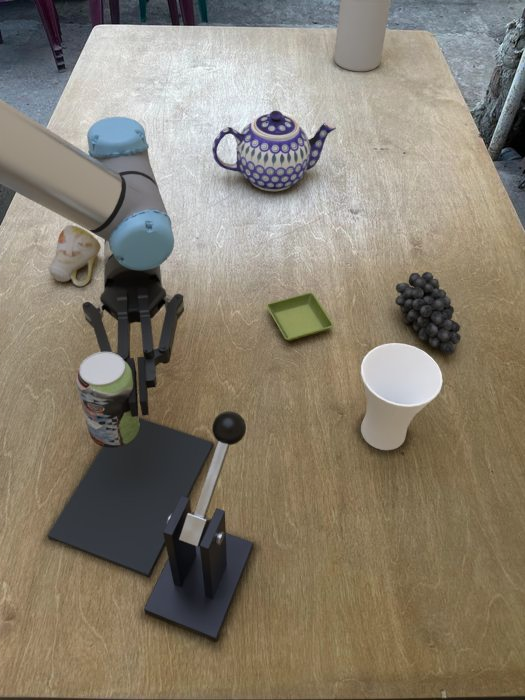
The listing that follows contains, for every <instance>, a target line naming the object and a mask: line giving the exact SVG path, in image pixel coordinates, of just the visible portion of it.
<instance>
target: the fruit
mask: <svg viewBox="0 0 525 700" xmlns="http://www.w3.org/2000/svg"><path fill="white" fill-rule="evenodd" d="M395 290H396V292H397V293H398V294H400V295H397V297H396V298H395V301H394V302H395V304H396V306H399V307H400V309H399V310H400V312H401V313H402V314H403V316H402V321H403V323H404V324H405V325H411V324H412V329H413V330H414V331H415V332H418V334H417V335H418V338H419V339H420V340H421V341H428V345H429V346H430V347H431V348H434V349H437V348H438V350H439V351H440V352H441V353H444V354H445V355H447V356H451V355H453V354H455V351H456V348H455V345H457V344H459V343H460V342H461V334H460V333H458V332H460V331H461V330H460V329H461V325H460V323H458V322H457V321H456V320H455V321H454V320H453V314H454V313H455V308H454V306H452V300H451V298H450V297H448V296H447V292H446V290H445V289H440V283H439V279H437V278H434V275H433V274H432V273H431V272H430V271H425V272H423V273H422V274H420V273H418V272H412V273H411V274H409V278H408V282H400V283H397V284H396V286H395Z"/></svg>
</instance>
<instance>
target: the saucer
mask: <svg viewBox="0 0 525 700" xmlns="http://www.w3.org/2000/svg"><path fill="white" fill-rule="evenodd" d="M265 306H266V308H267V310H268V312H269V313H270V316H271V317H272V319H273V320H274V322H275V324H276V325H277V328H278V329H279V331H280V333H281V334H282V336H283V338H284V339H285V340H286V341H289V342H290V341H294V340H296V339H300V338H304V337H308V336H311V335H315V334H318V333H322V332H325V331H328V330H331V329H332V328H333V327H335V324H334V322H333V321H332V319H331V317H329V315H328V313H327V312H326V309H324V307H323V306H322V304H321V302H320V301H319V299H318V298H317V296H316V295H315V294H314V292H312V291H309V292H305V293H302V294H298V295H294V296H291V297H287V298H282V299H280V300H276V301H272V302H268V303H266V305H265Z"/></svg>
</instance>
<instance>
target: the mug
mask: <svg viewBox="0 0 525 700" xmlns="http://www.w3.org/2000/svg"><path fill="white" fill-rule="evenodd" d="M101 248H102V247H101V243H100V242H99V240H98V239H97V238H96V237H95V236H94V235H93V234H91V233H90V231H88V230H87V229H85V228H83V227H81V226H78V225H72V224H69V225H66V226H65V227H64V228H63V229H62V231H61V232H60V233H59V236H58V238H57V243H56V250H55V255H54V258H53V260H52V262H51V263H50V264H49V266H48V272H49V274H50V276H51V277H52V278H53V279H54V280H56V281H58V282H62V283H64V282H69V281H70V280H71V281H72V283H73V285H74V286H76V287H84V286H86V285H87V284H89V282H90V281H91V278H92V274H93V273H92V272H93V266H94V264H95V261H96V257H97V256H98V255H99V253H100V251H101ZM84 266H85V267H86V266H87V274H86V275H87V276H86V277H85V279H84V280H82V281H80V280H78V279H77V272H78V271H79V270H80V269H82V268H83V267H84Z"/></svg>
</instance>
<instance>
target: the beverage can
mask: <svg viewBox="0 0 525 700" xmlns="http://www.w3.org/2000/svg"><path fill="white" fill-rule="evenodd" d="M112 352H113V351H112ZM112 352H100V351H99V352H95V353H93V354H92V353H91V354H90V355H88V356H87V357H86V358H85V359H83V361H82V362H81V363H80V365H79V369H78V371H77V373H76V379H75V380H76V387H77V391H78V395H79V398H80V402H81V406H82V410H83V414H84V418H85V421H86V426H87V430H88V433H89V437H90V439H91V440H92V441H93V442H94V443H95V444H97V446H98V445H99V446H100V447H108V448H115V447H120V446H123V445H125V444H127V443H129V442H130V441H132V440H133V439H134V438H135V436H136V435H137V433H138V431H139V428H140V422H139V418H140V416H139V415H138V416H136V417H132V416H131V411H130V407H129V395H130V393H131V391H132V388H133V378H132V372H131V369H130V367H129V365H128V364H127V363H126V362H125V361H124V360H123V359H122V358H121V357H120V356H119V355H117V354H115V353H116V352H114V353H112Z"/></svg>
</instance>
